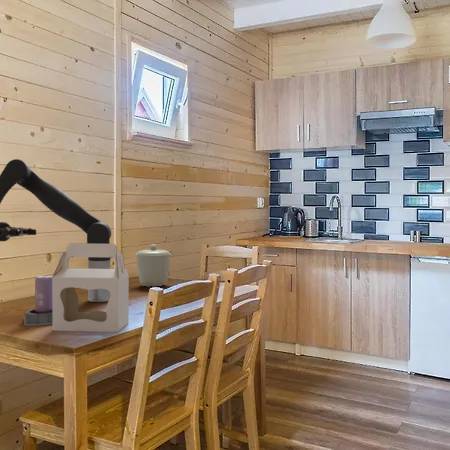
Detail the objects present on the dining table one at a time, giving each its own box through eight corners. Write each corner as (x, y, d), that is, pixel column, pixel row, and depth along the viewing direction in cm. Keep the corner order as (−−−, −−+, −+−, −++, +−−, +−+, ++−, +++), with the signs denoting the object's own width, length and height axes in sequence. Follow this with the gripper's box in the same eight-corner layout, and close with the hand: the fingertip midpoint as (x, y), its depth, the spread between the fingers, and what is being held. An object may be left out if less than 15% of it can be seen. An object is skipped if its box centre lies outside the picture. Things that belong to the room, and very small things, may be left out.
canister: (128, 285, 265) (128, 244, 264) (157, 282, 277) (157, 242, 276) (148, 290, 251) (148, 246, 250) (178, 286, 264) (178, 244, 263)
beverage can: (56, 317, 186) (56, 275, 186) (46, 321, 180) (46, 277, 180) (41, 316, 188) (41, 274, 187) (31, 319, 182) (31, 276, 181)
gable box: (129, 323, 181) (129, 242, 180) (119, 332, 168) (119, 245, 167) (66, 321, 182) (66, 241, 181) (51, 331, 169) (51, 244, 168)
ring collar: (59, 316, 190) (59, 306, 190) (61, 323, 179) (61, 313, 179) (24, 319, 186) (24, 308, 186) (24, 326, 175) (24, 315, 175)
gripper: (-20, 222, 199) (12, 223, 192) (10, 221, 212) (40, 222, 205) (-19, 242, 199) (13, 243, 193) (10, 240, 212) (41, 241, 206)
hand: (27, 232), depth 199 cm, fingers open, 8 cm apart
